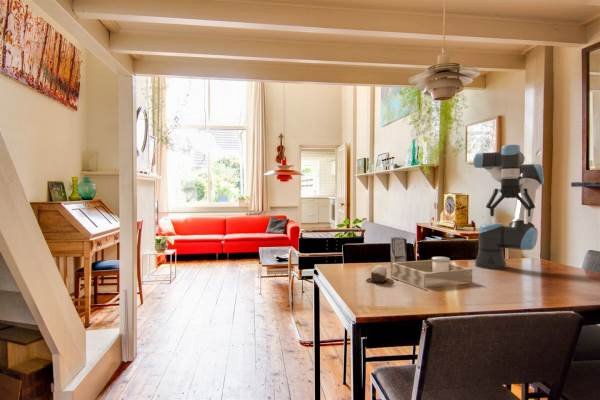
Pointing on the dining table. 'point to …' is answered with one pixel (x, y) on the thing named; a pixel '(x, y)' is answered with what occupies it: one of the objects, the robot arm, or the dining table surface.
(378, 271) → the skull
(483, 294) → the dining table surface
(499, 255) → the robot arm
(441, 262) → the white light bulb
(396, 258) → the coffee box
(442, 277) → the crate
